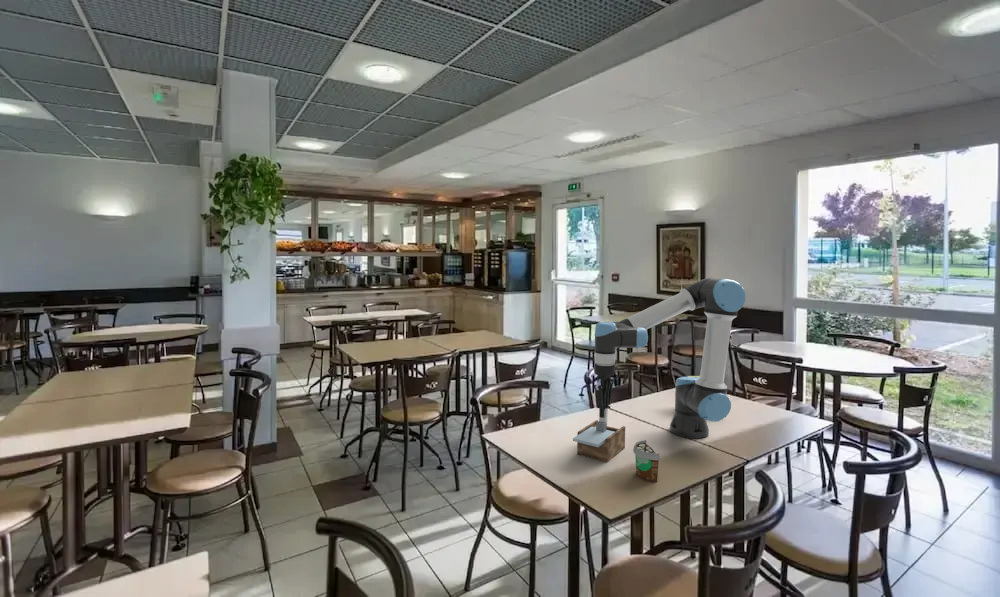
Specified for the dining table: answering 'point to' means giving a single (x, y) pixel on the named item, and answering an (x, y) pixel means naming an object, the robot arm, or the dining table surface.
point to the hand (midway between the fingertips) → (603, 424)
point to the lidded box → (607, 449)
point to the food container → (646, 462)
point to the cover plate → (594, 435)
